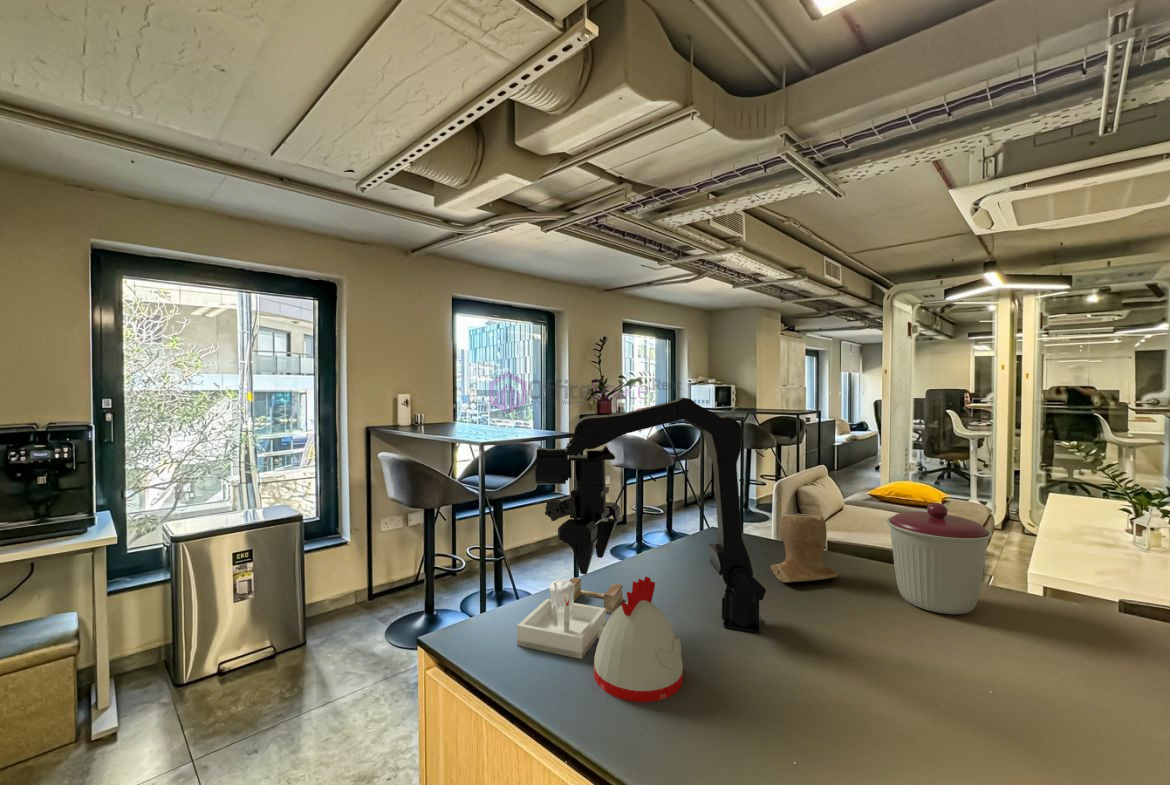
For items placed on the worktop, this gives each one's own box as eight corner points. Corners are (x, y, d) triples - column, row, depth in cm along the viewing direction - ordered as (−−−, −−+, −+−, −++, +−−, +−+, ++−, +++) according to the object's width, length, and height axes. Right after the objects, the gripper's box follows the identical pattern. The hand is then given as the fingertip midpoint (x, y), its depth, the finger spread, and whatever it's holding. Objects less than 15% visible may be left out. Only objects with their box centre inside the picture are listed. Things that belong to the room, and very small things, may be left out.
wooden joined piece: (623, 599, 109) (623, 583, 109) (613, 613, 102) (613, 595, 102) (574, 591, 113) (574, 575, 113) (561, 604, 106) (561, 587, 106)
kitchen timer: (698, 672, 81) (699, 579, 81) (651, 715, 71) (652, 607, 71) (627, 643, 90) (627, 559, 90) (576, 677, 80) (576, 582, 80)
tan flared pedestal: (810, 565, 130) (811, 506, 129) (845, 583, 118) (846, 518, 118) (757, 570, 126) (758, 510, 126) (788, 589, 114) (788, 522, 114)
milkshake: (543, 637, 90) (543, 581, 90) (556, 624, 95) (556, 570, 95) (566, 642, 89) (566, 585, 88) (578, 628, 94) (578, 574, 93)
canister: (866, 592, 113) (867, 497, 113) (929, 583, 118) (930, 492, 118) (943, 629, 96) (945, 517, 95) (1014, 617, 101) (1016, 511, 100)
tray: (605, 626, 96) (605, 608, 96) (581, 659, 85) (582, 638, 85) (547, 615, 101) (547, 598, 101) (517, 645, 90) (517, 625, 89)
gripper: (569, 473, 108) (571, 546, 109) (529, 491, 91) (532, 578, 91) (620, 475, 104) (621, 551, 105) (589, 494, 87) (590, 585, 87)
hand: (592, 565), depth 97 cm, fingers open, 9 cm apart
